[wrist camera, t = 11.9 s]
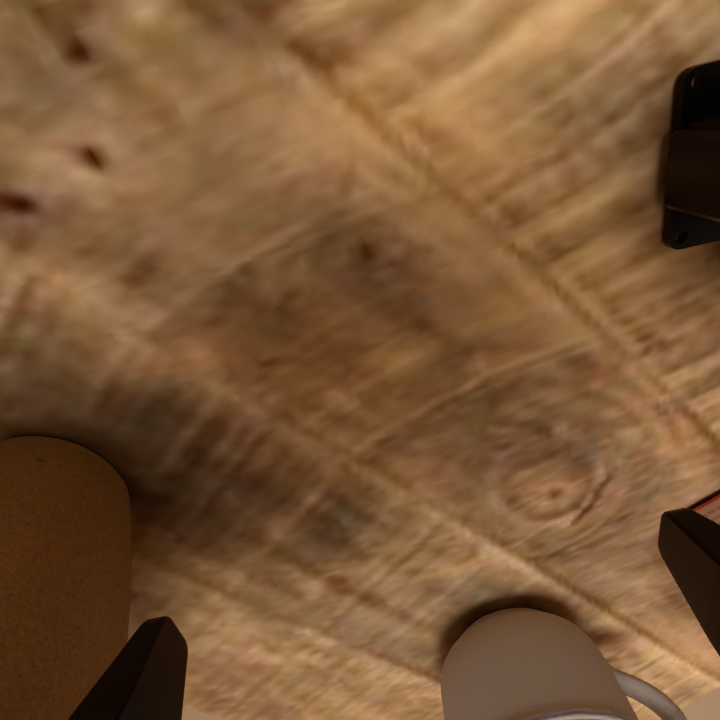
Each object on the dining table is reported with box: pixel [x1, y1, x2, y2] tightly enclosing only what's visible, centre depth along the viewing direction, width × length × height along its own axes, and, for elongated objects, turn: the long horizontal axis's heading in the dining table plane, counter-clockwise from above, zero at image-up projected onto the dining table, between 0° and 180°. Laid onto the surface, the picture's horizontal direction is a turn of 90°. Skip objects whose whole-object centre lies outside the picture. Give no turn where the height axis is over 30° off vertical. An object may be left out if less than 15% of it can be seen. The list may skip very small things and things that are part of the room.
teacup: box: [441, 608, 687, 720], centre depth 28 cm, size 14×11×8 cm
